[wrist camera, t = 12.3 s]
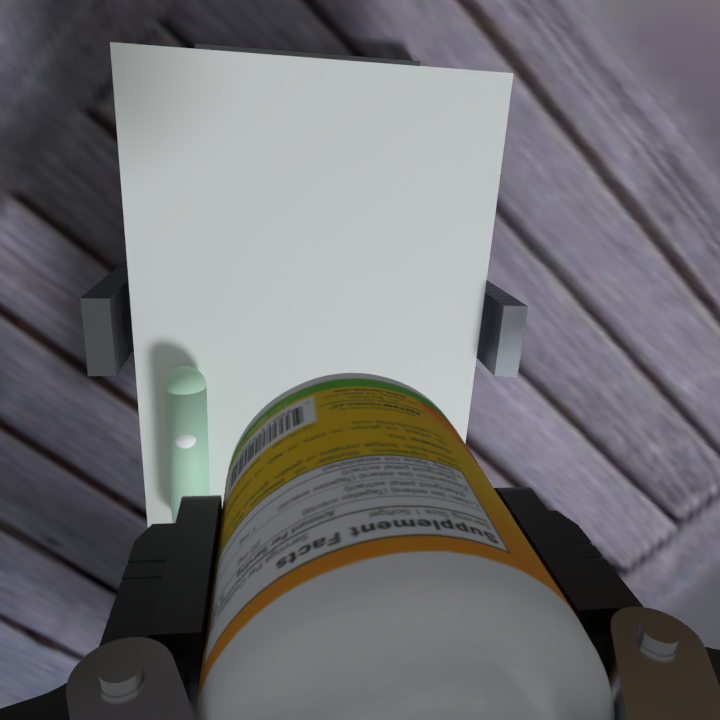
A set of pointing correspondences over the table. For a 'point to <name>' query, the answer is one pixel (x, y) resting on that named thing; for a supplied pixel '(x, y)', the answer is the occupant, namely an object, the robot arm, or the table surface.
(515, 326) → the base
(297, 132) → the levelling plate
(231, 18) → the table surface
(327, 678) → the supplement bottle
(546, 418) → the table surface
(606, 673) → the robot arm
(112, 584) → the table surface
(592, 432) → the table surface
